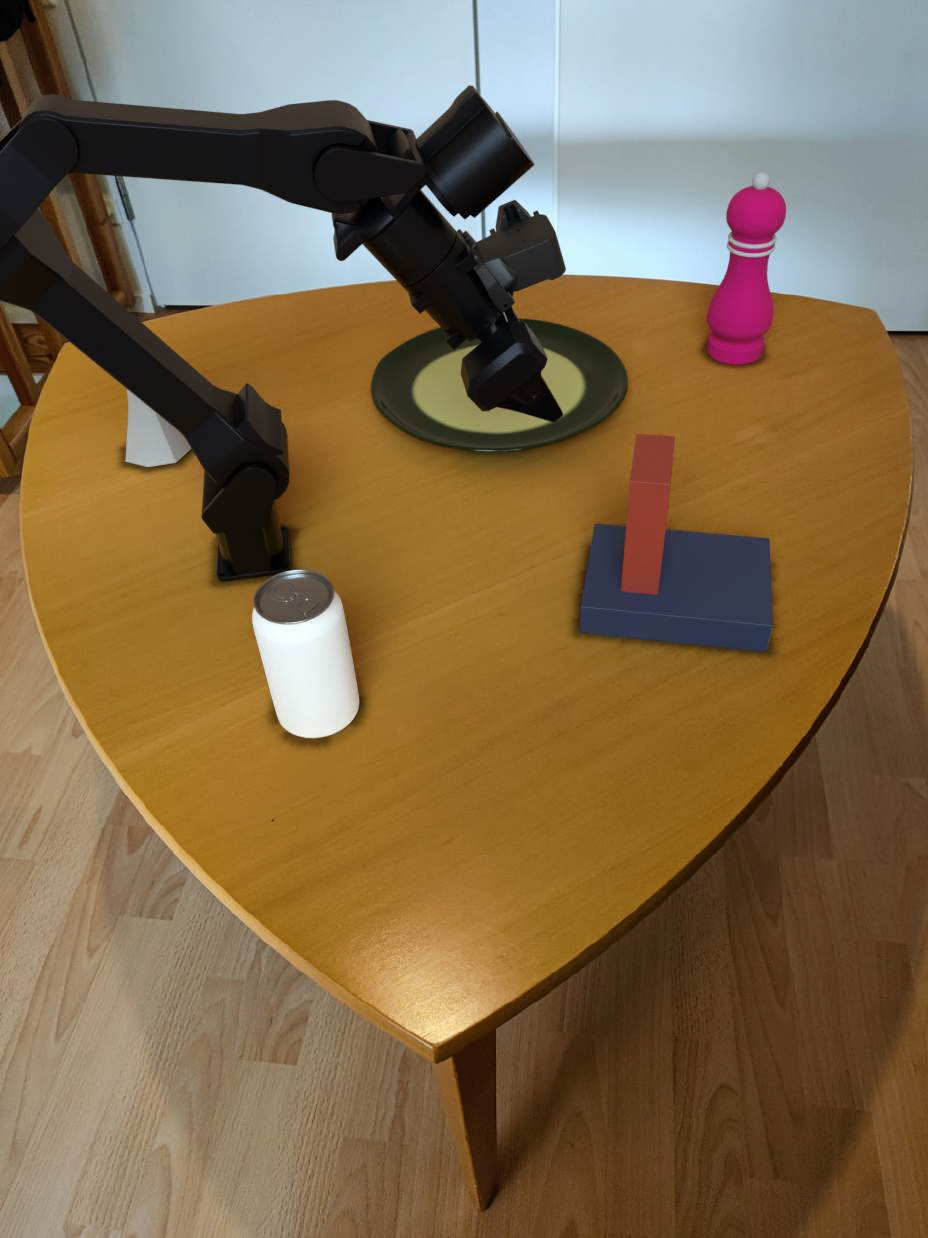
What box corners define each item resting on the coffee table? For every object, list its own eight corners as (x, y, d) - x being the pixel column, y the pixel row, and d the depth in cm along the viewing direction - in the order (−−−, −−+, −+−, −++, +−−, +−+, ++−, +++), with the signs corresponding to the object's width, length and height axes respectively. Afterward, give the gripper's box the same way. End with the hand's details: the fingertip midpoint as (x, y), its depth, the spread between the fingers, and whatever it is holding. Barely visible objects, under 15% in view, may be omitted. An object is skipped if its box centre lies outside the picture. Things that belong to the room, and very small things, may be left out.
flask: (202, 431, 107) (180, 346, 101) (182, 470, 102) (157, 383, 95) (138, 430, 108) (111, 345, 101) (114, 468, 103) (85, 382, 96)
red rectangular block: (620, 591, 81) (630, 481, 74) (627, 541, 86) (636, 433, 78) (657, 595, 81) (670, 484, 73) (662, 545, 85) (675, 435, 78)
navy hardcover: (579, 633, 82) (580, 606, 80) (593, 549, 90) (594, 523, 88) (767, 652, 80) (773, 625, 78) (764, 564, 88) (770, 537, 86)
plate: (337, 454, 103) (334, 434, 101) (411, 327, 122) (409, 308, 121) (608, 482, 97) (609, 461, 96) (640, 344, 117) (642, 324, 115)
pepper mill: (689, 345, 116) (711, 167, 102) (741, 331, 118) (769, 154, 104) (726, 373, 111) (755, 190, 97) (779, 357, 113) (814, 176, 99)
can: (319, 667, 81) (295, 553, 73) (377, 703, 78) (359, 588, 69) (260, 715, 77) (227, 601, 69) (318, 755, 74) (291, 641, 66)
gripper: (537, 233, 65) (658, 385, 75) (488, 140, 79) (595, 279, 88) (411, 341, 69) (540, 473, 79) (384, 235, 83) (498, 358, 92)
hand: (546, 389), depth 84 cm, fingers open, 9 cm apart
